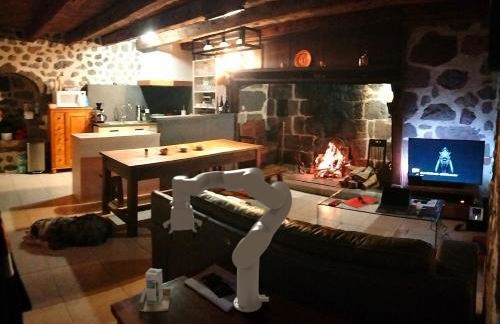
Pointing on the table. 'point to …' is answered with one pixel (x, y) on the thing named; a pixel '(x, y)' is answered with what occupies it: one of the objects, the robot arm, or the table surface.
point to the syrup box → (154, 286)
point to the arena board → (154, 307)
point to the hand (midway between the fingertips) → (183, 240)
